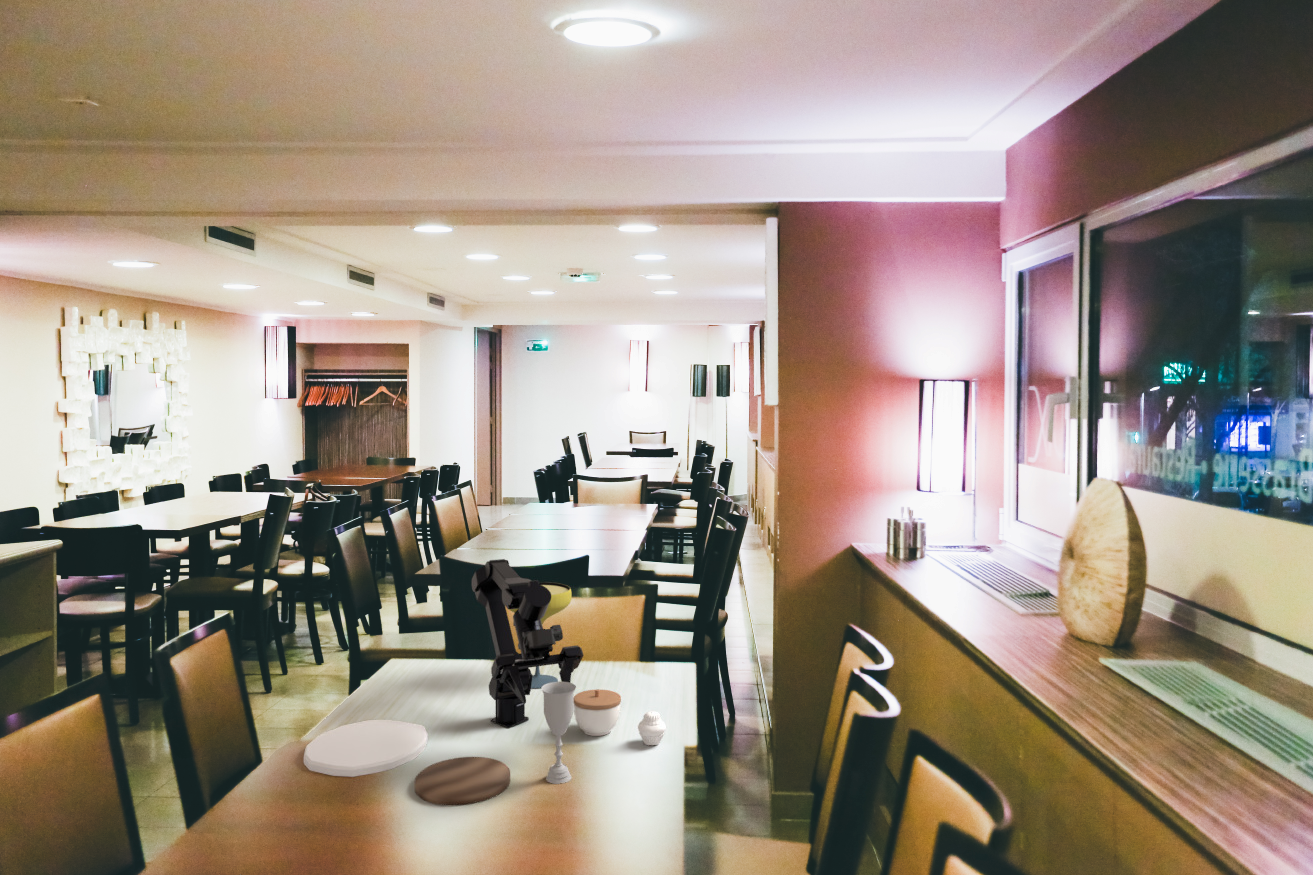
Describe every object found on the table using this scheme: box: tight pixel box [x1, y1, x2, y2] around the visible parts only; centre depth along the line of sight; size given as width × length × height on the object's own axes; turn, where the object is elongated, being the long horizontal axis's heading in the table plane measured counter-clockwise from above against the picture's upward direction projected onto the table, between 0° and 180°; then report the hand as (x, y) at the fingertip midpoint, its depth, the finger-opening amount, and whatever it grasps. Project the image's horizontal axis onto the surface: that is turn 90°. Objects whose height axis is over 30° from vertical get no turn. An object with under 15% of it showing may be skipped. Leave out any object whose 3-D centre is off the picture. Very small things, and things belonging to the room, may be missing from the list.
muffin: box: [637, 710, 667, 746], centre depth 182 cm, size 6×6×7 cm
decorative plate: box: [303, 718, 429, 778], centre depth 178 cm, size 25×4×25 cm
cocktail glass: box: [508, 581, 573, 690], centre depth 222 cm, size 18×18×25 cm
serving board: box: [414, 756, 511, 806], centre depth 162 cm, size 18×18×2 cm
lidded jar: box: [573, 688, 622, 737], centre depth 189 cm, size 11×11×9 cm
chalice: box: [540, 681, 577, 785], centre depth 164 cm, size 7×7×18 cm
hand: (546, 699), depth 170 cm, fingers open, 9 cm apart
